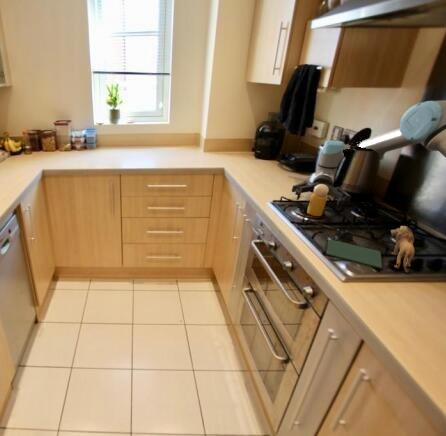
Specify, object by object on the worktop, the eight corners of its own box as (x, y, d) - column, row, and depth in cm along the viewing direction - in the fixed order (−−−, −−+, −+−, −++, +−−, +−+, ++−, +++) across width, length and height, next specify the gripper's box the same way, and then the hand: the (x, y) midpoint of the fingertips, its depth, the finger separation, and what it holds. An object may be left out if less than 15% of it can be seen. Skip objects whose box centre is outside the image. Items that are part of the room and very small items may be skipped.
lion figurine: (382, 246, 103) (392, 222, 99) (402, 249, 101) (414, 225, 97) (395, 272, 91) (408, 246, 87) (419, 276, 89) (433, 250, 85)
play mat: (379, 253, 100) (380, 251, 99) (381, 269, 92) (382, 267, 92) (328, 241, 107) (328, 239, 106) (326, 255, 99) (326, 253, 99)
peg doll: (322, 212, 125) (331, 183, 119) (321, 218, 121) (330, 188, 115) (307, 209, 127) (315, 181, 122) (305, 214, 124) (314, 185, 118)
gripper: (354, 196, 132) (353, 217, 116) (289, 185, 144) (280, 202, 129) (360, 179, 128) (360, 198, 113) (293, 169, 141) (284, 185, 125)
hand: (318, 200), depth 121 cm, fingers open, 13 cm apart
